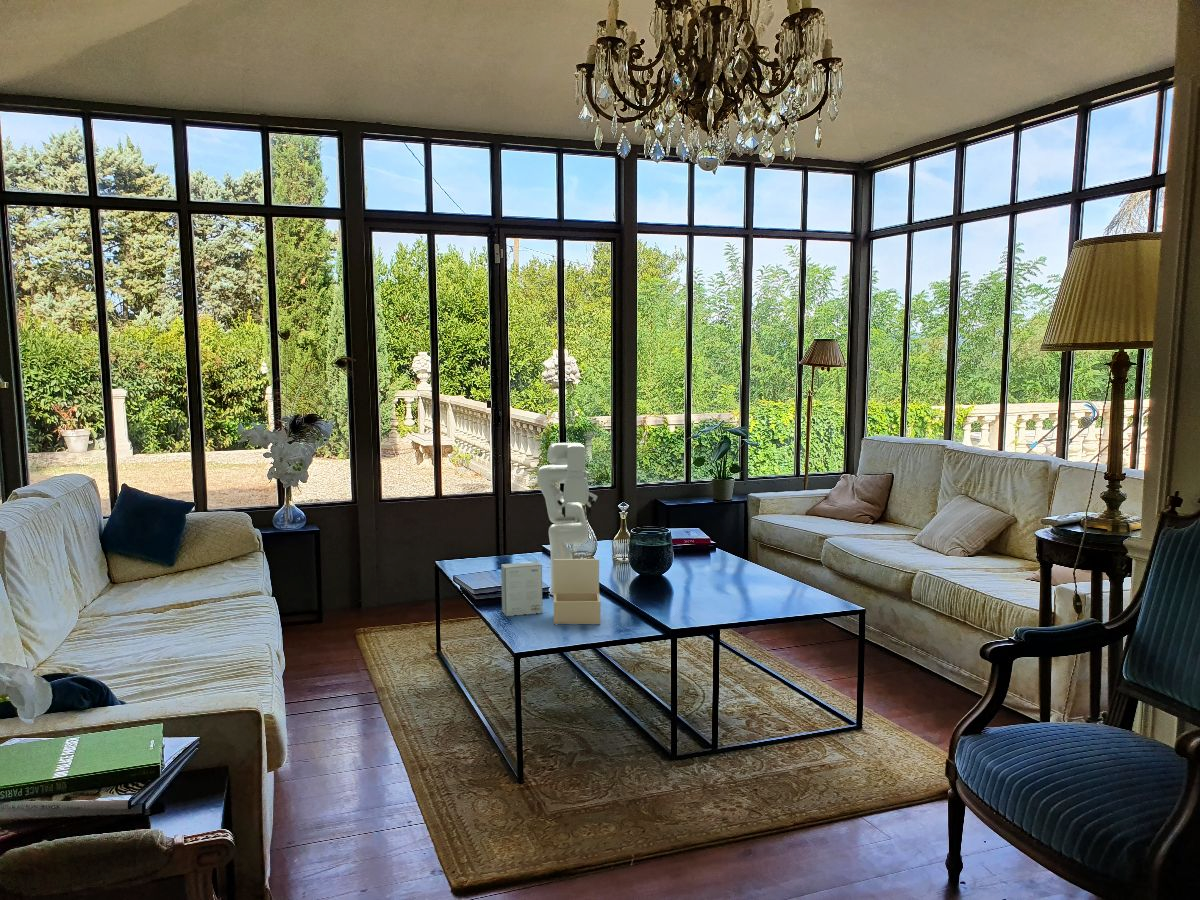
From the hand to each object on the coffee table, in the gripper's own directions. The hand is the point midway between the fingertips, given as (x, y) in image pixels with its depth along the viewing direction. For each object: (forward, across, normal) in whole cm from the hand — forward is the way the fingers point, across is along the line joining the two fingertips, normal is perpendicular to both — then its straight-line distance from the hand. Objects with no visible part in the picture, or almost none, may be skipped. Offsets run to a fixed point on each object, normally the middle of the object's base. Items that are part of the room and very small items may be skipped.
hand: (576, 516), depth 347 cm
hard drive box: (+38, +22, +6) cm, 45 cm away
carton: (+38, 0, +17) cm, 42 cm away
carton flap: (+22, 0, +11) cm, 25 cm away
